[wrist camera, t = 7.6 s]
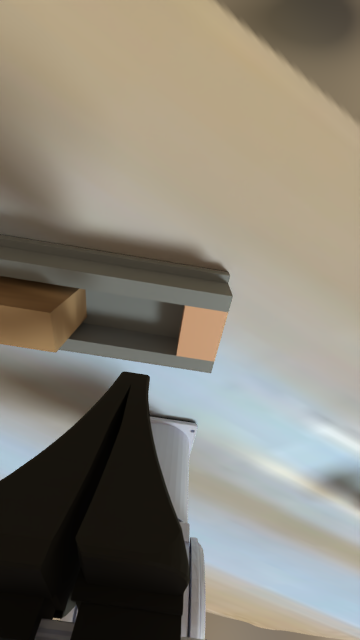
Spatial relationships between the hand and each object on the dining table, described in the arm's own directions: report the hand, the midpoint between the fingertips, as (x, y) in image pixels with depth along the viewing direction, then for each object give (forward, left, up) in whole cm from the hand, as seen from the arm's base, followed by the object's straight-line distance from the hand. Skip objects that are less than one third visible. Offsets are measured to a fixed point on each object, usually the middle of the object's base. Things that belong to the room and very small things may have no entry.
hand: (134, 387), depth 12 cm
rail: (0, +6, -9) cm, 11 cm away
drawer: (0, +10, -8) cm, 13 cm away
